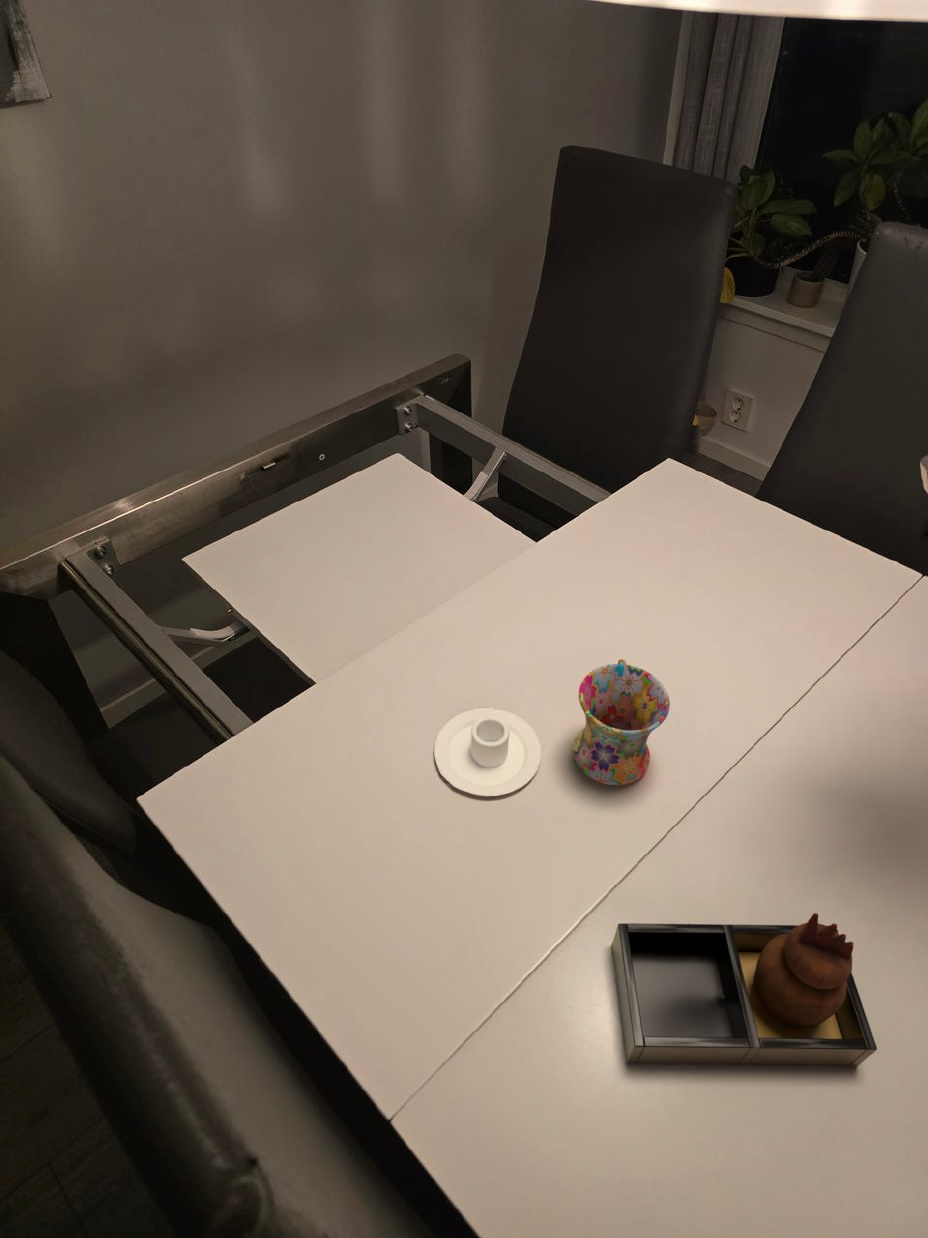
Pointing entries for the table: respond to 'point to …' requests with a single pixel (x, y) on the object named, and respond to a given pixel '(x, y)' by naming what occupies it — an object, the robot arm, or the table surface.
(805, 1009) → the wooden figurine
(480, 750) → the candle holder
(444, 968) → the table surface
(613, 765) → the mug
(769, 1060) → the divided tray
